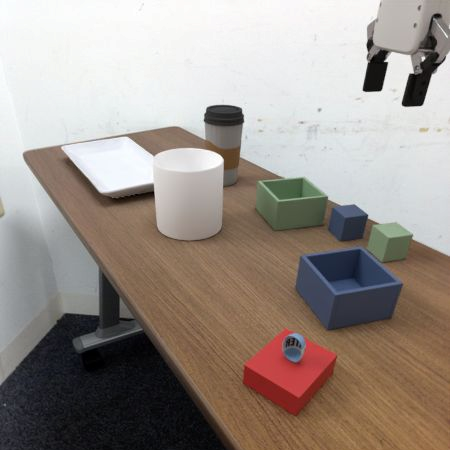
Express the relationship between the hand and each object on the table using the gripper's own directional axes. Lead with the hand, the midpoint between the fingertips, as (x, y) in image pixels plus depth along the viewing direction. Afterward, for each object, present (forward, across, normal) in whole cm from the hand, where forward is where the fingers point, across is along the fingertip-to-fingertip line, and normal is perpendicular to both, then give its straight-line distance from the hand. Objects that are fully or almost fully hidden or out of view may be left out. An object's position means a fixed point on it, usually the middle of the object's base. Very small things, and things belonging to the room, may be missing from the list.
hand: (390, 98), depth 62 cm
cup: (+23, +11, +28) cm, 38 cm away
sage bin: (+22, +10, +9) cm, 26 cm away
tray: (+23, +39, +38) cm, 59 cm away
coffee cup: (+23, +30, +16) cm, 41 cm away
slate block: (+22, +1, +2) cm, 23 cm away
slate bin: (+22, -17, +13) cm, 31 cm away
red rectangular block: (+23, -28, +26) cm, 44 cm away
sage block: (+22, -7, -1) cm, 24 cm away
